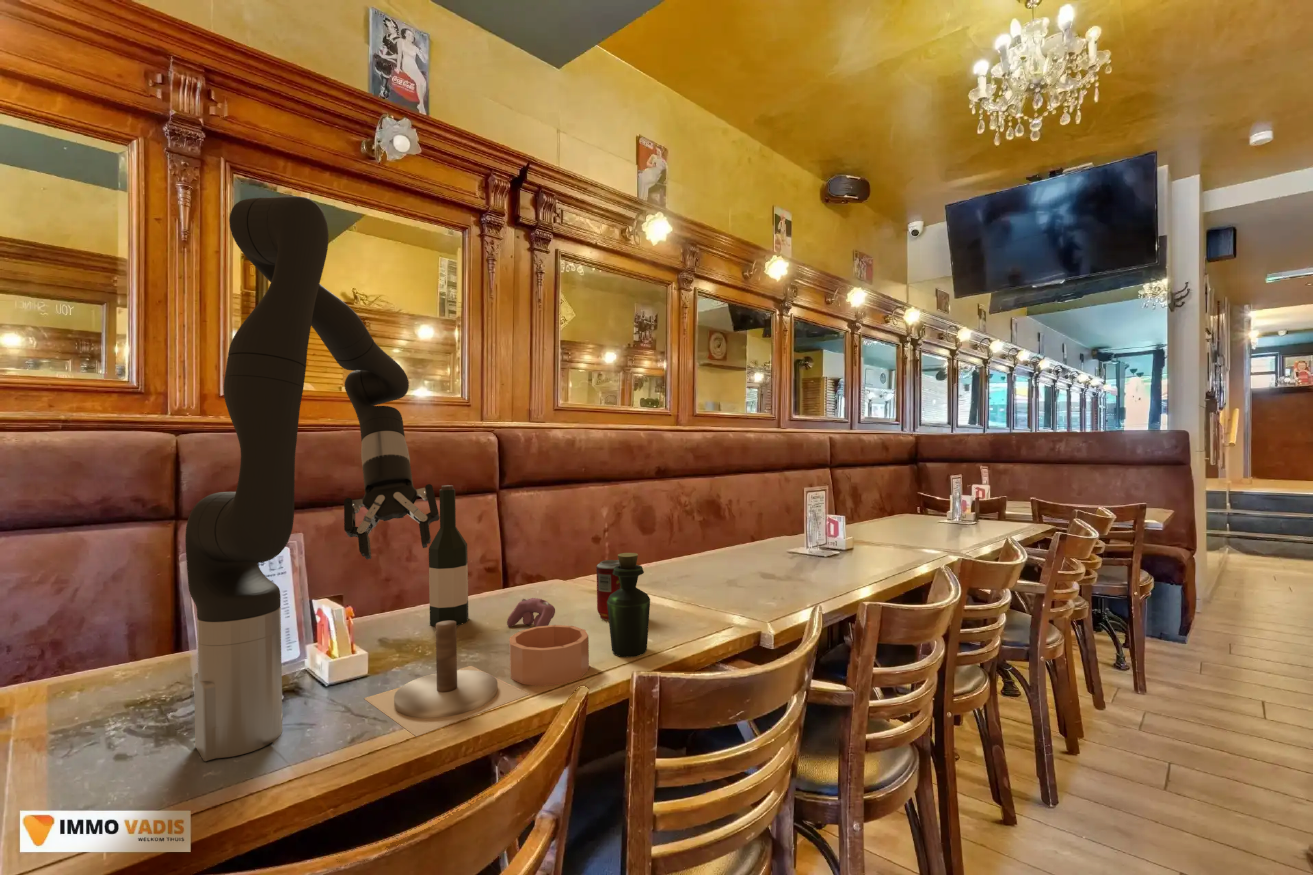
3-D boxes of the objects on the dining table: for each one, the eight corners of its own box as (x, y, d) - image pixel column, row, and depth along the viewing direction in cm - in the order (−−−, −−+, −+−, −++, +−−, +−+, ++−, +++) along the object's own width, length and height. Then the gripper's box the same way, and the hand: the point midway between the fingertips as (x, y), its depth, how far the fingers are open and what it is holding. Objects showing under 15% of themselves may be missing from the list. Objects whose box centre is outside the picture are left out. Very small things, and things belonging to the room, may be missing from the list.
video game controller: (551, 636, 128) (561, 603, 130) (537, 632, 124) (547, 598, 127) (517, 629, 133) (527, 597, 136) (503, 625, 129) (513, 592, 132)
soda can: (622, 622, 131) (621, 565, 132) (592, 620, 133) (591, 564, 133) (633, 613, 138) (632, 559, 138) (604, 611, 140) (602, 558, 140)
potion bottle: (647, 642, 118) (646, 549, 118) (654, 657, 110) (653, 557, 110) (605, 645, 117) (604, 551, 117) (609, 660, 109) (608, 559, 109)
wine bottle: (456, 628, 129) (454, 487, 130) (421, 626, 131) (419, 487, 131) (476, 616, 138) (473, 484, 138) (442, 615, 139) (440, 484, 139)
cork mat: (416, 739, 81) (416, 736, 81) (363, 700, 93) (363, 698, 93) (530, 696, 94) (530, 693, 94) (470, 667, 106) (470, 665, 106)
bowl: (540, 694, 95) (539, 655, 95) (495, 673, 104) (494, 637, 104) (603, 670, 104) (602, 635, 104) (557, 653, 113) (556, 620, 113)
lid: (422, 728, 83) (420, 646, 83) (377, 697, 93) (376, 624, 93) (516, 694, 94) (515, 621, 94) (467, 670, 104) (466, 604, 104)
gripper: (335, 460, 99) (343, 554, 92) (427, 446, 104) (441, 534, 97) (345, 480, 106) (353, 569, 99) (432, 466, 110) (445, 549, 103)
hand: (396, 551), depth 98 cm, fingers open, 8 cm apart
